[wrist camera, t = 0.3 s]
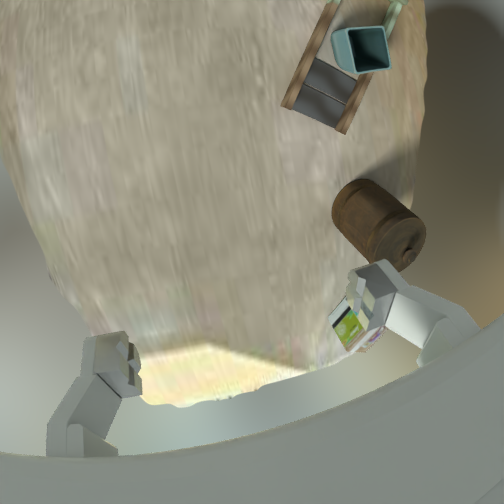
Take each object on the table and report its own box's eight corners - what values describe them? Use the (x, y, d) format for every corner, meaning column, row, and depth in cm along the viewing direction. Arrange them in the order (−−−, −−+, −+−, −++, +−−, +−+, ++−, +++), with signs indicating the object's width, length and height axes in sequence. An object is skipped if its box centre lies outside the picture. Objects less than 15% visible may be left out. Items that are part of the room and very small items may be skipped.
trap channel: (339, 131, 58) (349, 136, 55) (280, 105, 52) (288, 109, 49) (396, 1, 42) (408, 1, 38) (345, -36, 35) (356, -39, 32)
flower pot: (356, 26, 45) (384, 25, 38) (364, 64, 50) (392, 69, 43) (319, 30, 44) (345, 27, 37) (329, 71, 50) (355, 75, 43)
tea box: (354, 283, 88) (379, 317, 76) (373, 288, 93) (397, 320, 81) (326, 318, 94) (346, 353, 82) (345, 321, 99) (366, 353, 87)
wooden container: (337, 241, 76) (385, 298, 59) (325, 194, 66) (382, 249, 49) (383, 216, 76) (436, 265, 58) (376, 169, 66) (440, 214, 49)
